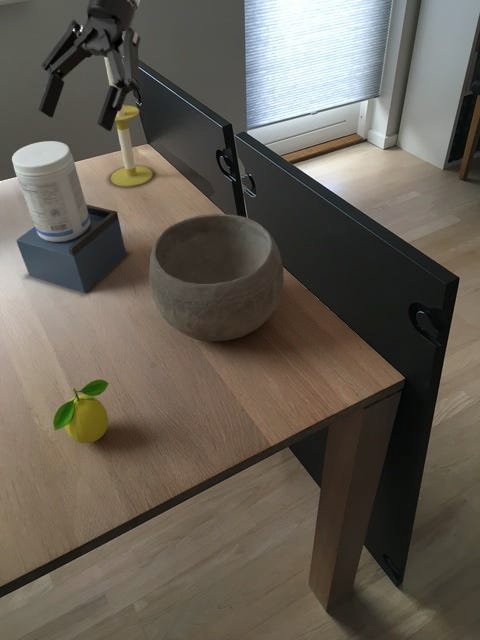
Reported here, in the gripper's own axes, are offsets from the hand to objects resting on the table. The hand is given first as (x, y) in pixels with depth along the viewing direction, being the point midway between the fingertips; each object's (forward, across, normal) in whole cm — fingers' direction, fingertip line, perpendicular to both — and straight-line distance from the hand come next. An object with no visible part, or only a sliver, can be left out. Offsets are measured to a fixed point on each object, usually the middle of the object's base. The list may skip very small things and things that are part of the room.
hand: (73, 120), depth 91 cm
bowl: (+23, -33, -12) cm, 42 cm away
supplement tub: (+18, 0, -6) cm, 19 cm away
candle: (0, +14, -35) cm, 38 cm away
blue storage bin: (+23, -1, -12) cm, 26 cm away
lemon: (+43, -30, +8) cm, 54 cm away
